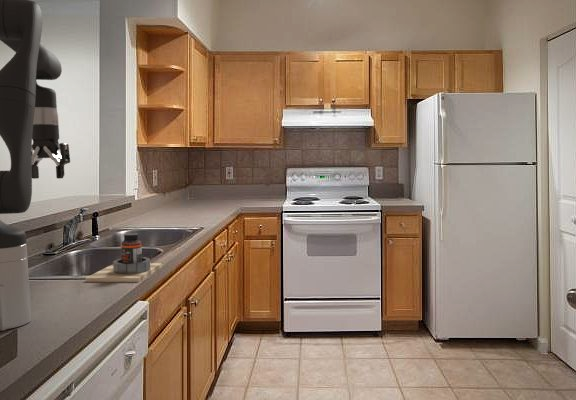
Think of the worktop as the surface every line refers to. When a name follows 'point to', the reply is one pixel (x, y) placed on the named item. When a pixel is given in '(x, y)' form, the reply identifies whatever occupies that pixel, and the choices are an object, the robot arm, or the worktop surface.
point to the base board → (121, 275)
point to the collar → (131, 266)
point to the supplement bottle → (131, 249)
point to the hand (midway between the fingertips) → (47, 178)
